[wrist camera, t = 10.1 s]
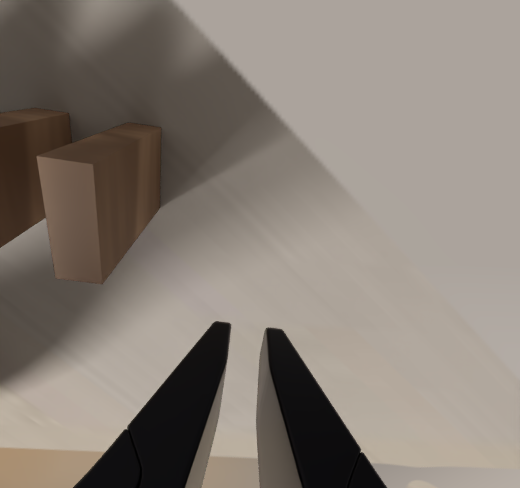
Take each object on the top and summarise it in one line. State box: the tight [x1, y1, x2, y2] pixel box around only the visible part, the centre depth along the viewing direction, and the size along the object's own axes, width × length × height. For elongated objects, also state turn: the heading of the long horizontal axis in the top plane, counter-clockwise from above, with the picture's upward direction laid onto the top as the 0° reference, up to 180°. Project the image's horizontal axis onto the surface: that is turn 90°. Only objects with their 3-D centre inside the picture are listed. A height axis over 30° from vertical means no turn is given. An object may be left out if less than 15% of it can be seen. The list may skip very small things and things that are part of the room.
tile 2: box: [0, 108, 72, 248], centre depth 15 cm, size 2×5×8 cm, turn 172°
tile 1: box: [37, 123, 161, 284], centre depth 16 cm, size 2×5×8 cm, turn 171°
